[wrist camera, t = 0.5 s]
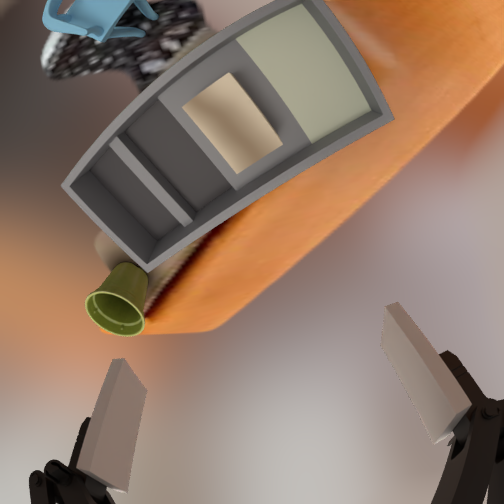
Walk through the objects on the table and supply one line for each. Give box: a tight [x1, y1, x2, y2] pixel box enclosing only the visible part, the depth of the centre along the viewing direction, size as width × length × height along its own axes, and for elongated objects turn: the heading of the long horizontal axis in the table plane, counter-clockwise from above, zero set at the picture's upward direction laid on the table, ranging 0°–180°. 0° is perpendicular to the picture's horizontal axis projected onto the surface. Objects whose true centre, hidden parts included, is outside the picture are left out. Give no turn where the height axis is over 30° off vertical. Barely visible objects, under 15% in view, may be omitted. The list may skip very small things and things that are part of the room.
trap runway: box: [61, 0, 394, 273], centre depth 26 cm, size 34×16×6 cm, turn 125°
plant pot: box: [85, 262, 148, 337], centre depth 38 cm, size 9×9×9 cm
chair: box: [42, 0, 159, 42], centre depth 14 cm, size 8×8×12 cm
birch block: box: [182, 73, 283, 174], centre depth 24 cm, size 5×8×5 cm, turn 35°
